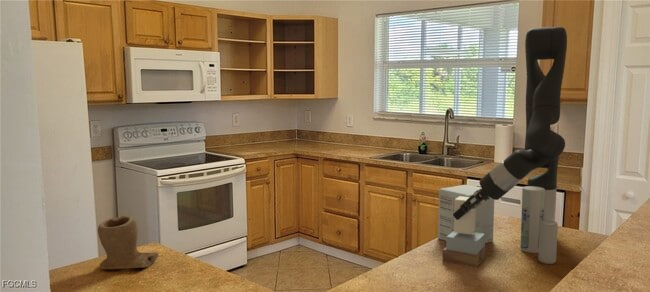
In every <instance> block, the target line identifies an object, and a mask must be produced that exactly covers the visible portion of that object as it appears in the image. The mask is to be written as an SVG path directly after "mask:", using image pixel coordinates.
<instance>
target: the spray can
mask: <svg viewBox="0 0 650 292" xmlns="http://www.w3.org/2000/svg"><path fill="white" fill-rule="evenodd" d="M521 193H522V194H521V217H520V218H521V223H520V224H521V225H520V226H521V227H520V246H519V247H520V250H521V251H522V252H525V253H529V254H539V234H540V223H541V221H543V215H544V197H545V189H544V188H541V187H534V186H527V185H526V186H522V190H521Z"/></svg>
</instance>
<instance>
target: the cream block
mask: <svg viewBox="0 0 650 292" xmlns="http://www.w3.org/2000/svg"><path fill="white" fill-rule="evenodd" d="M468 198H469V197H462V196H459V197H457V198H456V199H455V200H454V213H455V212H456V211H457V210H458V209H459V208H460V205H462V204H463V203H464V202H465V201H466V200H467V199H468ZM465 206H466V207H467V208H469V207H468V206H467V205H465ZM475 206H476V205H475ZM475 217H476V208H475V209H471V210H470V211H469V212H468V213H466V214H465V215H463V216H462V217H461V218H460V219H458V220H456V218H455V217H454V232H456V233H463V234H470V235H471V234H472V233H473V232H474V231H475Z"/></svg>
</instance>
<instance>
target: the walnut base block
mask: <svg viewBox="0 0 650 292" xmlns="http://www.w3.org/2000/svg"><path fill="white" fill-rule="evenodd" d="M485 258H486V246H485V247H484V248H483V249H482V250H481V251H480V252H479V253H478V254H477V255H474V254H469V253H463V252H457V251H451V250H446V246H445V247H444V248H443V249H442V262H444V263H451V264H456V265H460V266H461V265H462V266H466V265H467V266H468V267H472V268H477V267H478V266H479V265H480V264H481V262H482V261H484V259H485ZM479 263H480V264H479Z"/></svg>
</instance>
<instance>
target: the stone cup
mask: <svg viewBox="0 0 650 292" xmlns="http://www.w3.org/2000/svg"><path fill="white" fill-rule="evenodd" d="M97 235H98V239H99V240H100V241H99V242H100V244H101V246H102V247H103V249H104V251H105V254H106V258H104V259H103V260H102V261H101V262H100V263H99V268H100V269H102V270H128V269H129V270H130V269H140V268H148V267H150V266H152V265H153V264H154V263H155V262H156V261H157V260H158V258H159V253H158V252H140V251H138V248H137V246H138V245H137V243H138V236H139V235H138V224H137V221H136V220H135V219H134V218H133V217H132V216H130V215H121V216H120V217H110V218H108V219H106V220H104V221H102V222H101V223H100V224H99V225H98V227H97Z"/></svg>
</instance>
